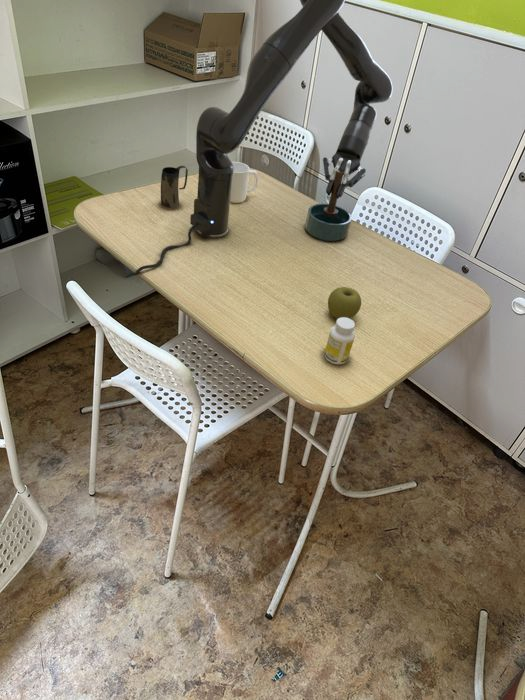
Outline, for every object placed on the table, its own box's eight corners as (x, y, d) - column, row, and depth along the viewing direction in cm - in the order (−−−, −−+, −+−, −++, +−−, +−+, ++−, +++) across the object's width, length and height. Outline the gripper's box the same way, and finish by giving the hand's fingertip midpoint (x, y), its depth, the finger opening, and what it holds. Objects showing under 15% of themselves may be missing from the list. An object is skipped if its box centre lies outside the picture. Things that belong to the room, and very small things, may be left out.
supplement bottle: (345, 349, 119) (356, 316, 113) (349, 366, 115) (360, 332, 108) (322, 347, 118) (331, 314, 112) (325, 364, 114) (335, 330, 108)
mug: (163, 210, 157) (164, 172, 149) (158, 202, 160) (158, 164, 152) (188, 208, 160) (190, 170, 152) (182, 199, 163) (183, 162, 156)
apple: (351, 329, 125) (358, 306, 120) (320, 317, 127) (326, 294, 122) (360, 313, 130) (367, 290, 126) (330, 302, 132) (336, 279, 127)
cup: (217, 192, 171) (219, 161, 164) (251, 190, 175) (254, 161, 168) (225, 203, 165) (228, 173, 159) (260, 201, 170) (264, 171, 163)
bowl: (328, 247, 153) (332, 229, 149) (295, 228, 160) (299, 210, 156) (355, 235, 161) (360, 217, 157) (323, 217, 167) (327, 200, 163)
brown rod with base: (331, 218, 154) (341, 175, 146) (320, 211, 156) (329, 169, 148) (340, 214, 157) (350, 172, 148) (329, 208, 159) (338, 166, 150)
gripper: (330, 128, 149) (309, 183, 148) (377, 141, 146) (355, 197, 146) (332, 141, 157) (311, 194, 156) (376, 154, 154) (355, 207, 153)
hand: (332, 195), depth 151 cm, fingers closed on brown rod with base, 2 cm apart
